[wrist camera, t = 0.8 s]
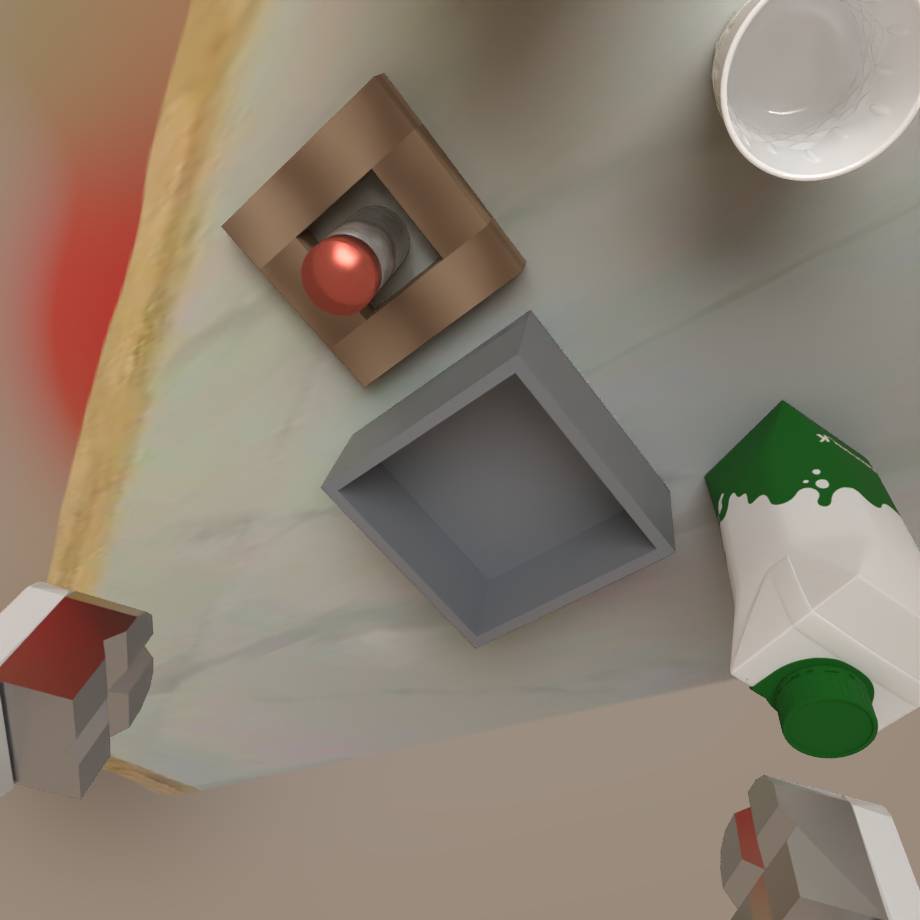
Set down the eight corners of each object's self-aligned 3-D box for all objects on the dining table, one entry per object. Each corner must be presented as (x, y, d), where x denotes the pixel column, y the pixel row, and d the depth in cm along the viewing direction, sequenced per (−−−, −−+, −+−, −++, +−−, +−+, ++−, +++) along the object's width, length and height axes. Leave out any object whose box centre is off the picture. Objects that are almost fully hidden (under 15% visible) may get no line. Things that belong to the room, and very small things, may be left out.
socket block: (384, 73, 43) (374, 76, 41) (526, 261, 46) (522, 271, 45) (235, 218, 48) (221, 226, 47) (372, 374, 52) (364, 387, 51)
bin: (530, 309, 48) (518, 353, 42) (669, 490, 53) (675, 552, 47) (352, 434, 55) (320, 487, 49) (489, 584, 60) (475, 648, 54)
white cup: (798, 170, 41) (843, 214, 33) (669, 100, 41) (682, 127, 32) (902, 16, 37) (985, 21, 29) (760, -64, 37) (802, -83, 28)
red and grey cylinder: (379, 191, 46) (338, 225, 39) (422, 245, 47) (389, 287, 40) (333, 232, 48) (286, 271, 41) (376, 283, 49) (337, 329, 42)
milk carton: (684, 477, 52) (715, 708, 35) (783, 378, 47) (874, 590, 30) (785, 544, 53) (861, 798, 36) (891, 455, 49) (1035, 698, 32)
